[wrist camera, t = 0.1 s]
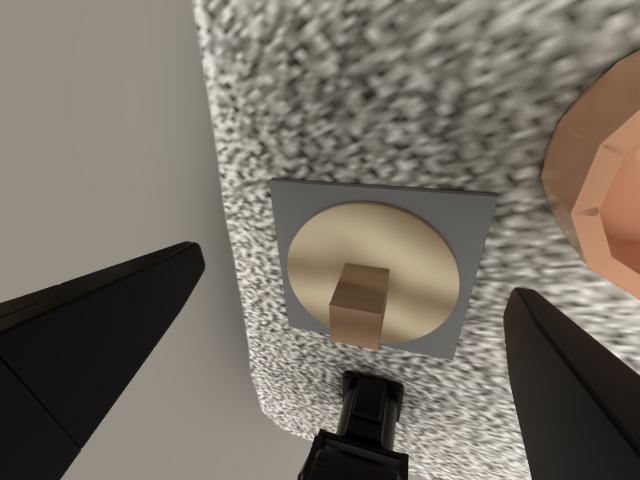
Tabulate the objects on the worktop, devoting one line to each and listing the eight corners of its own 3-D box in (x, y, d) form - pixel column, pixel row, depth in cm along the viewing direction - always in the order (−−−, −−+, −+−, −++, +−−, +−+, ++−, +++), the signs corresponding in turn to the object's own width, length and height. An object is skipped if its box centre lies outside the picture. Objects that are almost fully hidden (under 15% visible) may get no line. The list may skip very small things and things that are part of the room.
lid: (442, 350, 28) (445, 412, 23) (297, 321, 32) (273, 369, 27) (476, 209, 21) (490, 257, 16) (282, 193, 24) (246, 229, 20)
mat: (452, 354, 29) (452, 360, 28) (291, 322, 33) (288, 326, 32) (496, 193, 20) (497, 196, 20) (272, 178, 25) (269, 180, 24)
